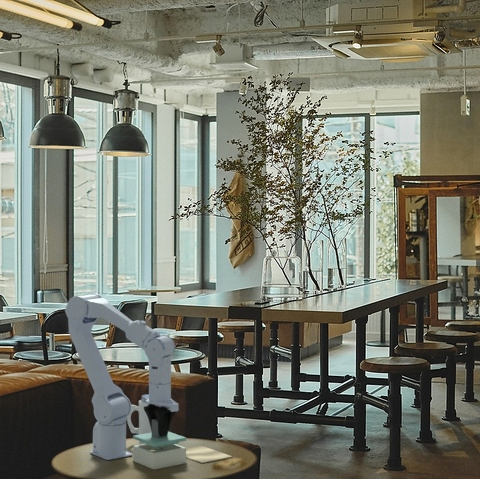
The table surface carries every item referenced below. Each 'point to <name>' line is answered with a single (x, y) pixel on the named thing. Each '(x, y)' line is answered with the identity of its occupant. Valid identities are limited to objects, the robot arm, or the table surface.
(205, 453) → the cork mat
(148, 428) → the mug
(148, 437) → the lid
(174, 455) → the storage box
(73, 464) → the table surface
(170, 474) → the table surface
